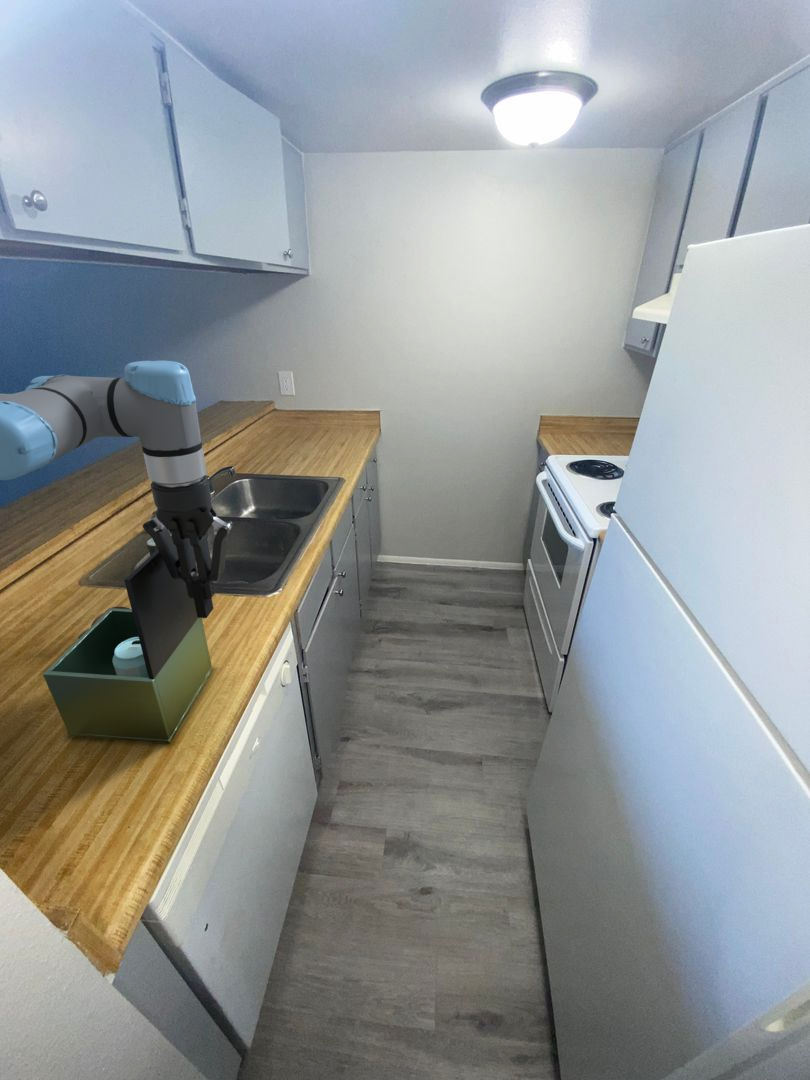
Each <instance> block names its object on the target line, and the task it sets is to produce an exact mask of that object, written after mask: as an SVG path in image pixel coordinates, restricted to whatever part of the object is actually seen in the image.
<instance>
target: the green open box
mask: <svg viewBox="0 0 810 1080" xmlns="http://www.w3.org/2000/svg"><path fill="white" fill-rule="evenodd" d="M108 609H109V608H108ZM91 625H92V624H91ZM91 625H90V626H89V628H87V629H88V630H87V629H86V630H87V631H86V630H85V631H86V632H85V633H84V634H83V635H82V636H81V637H80V638H79V639H78V638H77V640H76V641H75V642H73V644H72V645H71V646H70V647H69V648H68V649H66V651H64V653H63V654H62V655H61V656H59V657H58V658H57V659H56V660H55V661H54V662H53V663H52V664H51V665H50V666H49V667H48V668H47V669H46V670H45V671H44V672H43V673H42V676H43V678H44V681H45V683H46V686H47V687H48V690H49V693H50V694H51V695H50V696H52V700H53V701H54V704H55V706H56V708H57V711H58V713H59V715H60V718H61V720H62V723H63V724H64V727H65V729H66V732H67V735H68V736H69V737H74V738H86V739H99V740H100V739H102V740H114V741H115V740H116V741H127V742H128V741H129V742H141V743H157V744H167V745H170V744H171V743H172V741H173V739H174V737H175V736H176V734H177V733H178V731H179V729H180V727H181V726H182V724H183V723H184V721H185V719H186V717H187V715H188V713H189V712H190V710H191V709H192V706H193V705H194V703H195V702H196V700H197V698H198V696H200V693H201V692H202V690H203V688H204V686H205V685H206V683H207V681H208V679H209V678H210V676H211V675H212V672H213V670H214V669H213V665H212V660H211V656H210V651H209V646H208V641H207V635H206V631H205V626H204V622H203V618H198V619H197V621H196V622H195V623H194V625H193V626H192V627H191V629H190V630H189V632H188V633H187V634H186V636H185V637H184V638H183V640H182V641H181V643H180V644H179V645H178V647H177V648H176V650H175V651H174V652H173V654H172V655H171V656H170V658H169V659H168V661H167V662H166V663H165V665H164V666H163V668H162V669H161V670H160V672H159V673H158V674H157V676H156V677H155V679H149V678H144V677H129V676H117V674H116V671H115V668H114V665H113V656H114V651H115V649H116V647H117V646H118V645H119V644H120V643H122V642H123V641H125V640H128V639H130V638H134V637H138V633H137V629H136V625H135V621H134V617H133V613H132V609H131V608H129V609H119V608H112V607H110V609H109V610H108V611H107V612H106V613H105V614H104V615H103V616H102V617H101V618H100V619H99V620H98V621H97V622H95V623H94V624H93V625H92V626H91Z"/></svg>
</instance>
